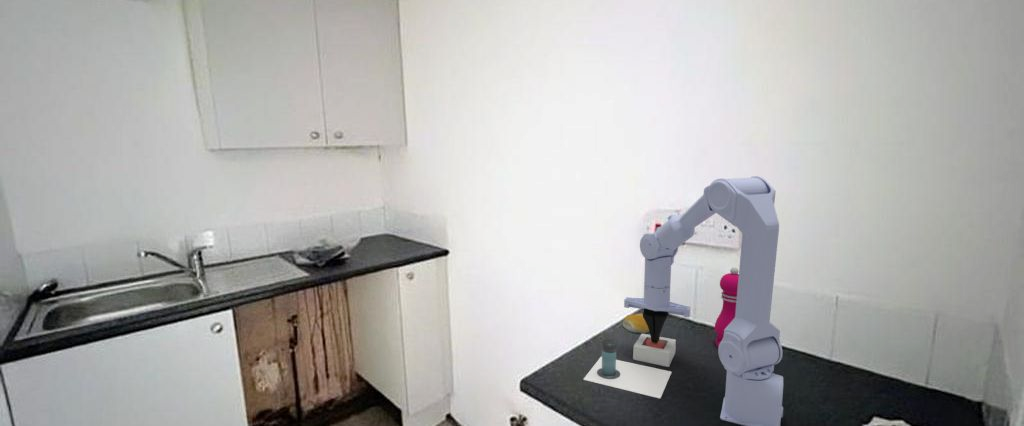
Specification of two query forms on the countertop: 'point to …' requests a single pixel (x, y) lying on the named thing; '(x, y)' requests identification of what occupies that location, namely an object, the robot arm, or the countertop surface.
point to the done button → (655, 344)
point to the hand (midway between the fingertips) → (655, 340)
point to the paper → (632, 378)
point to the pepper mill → (727, 303)
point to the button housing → (654, 351)
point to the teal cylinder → (609, 357)
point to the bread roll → (635, 323)
